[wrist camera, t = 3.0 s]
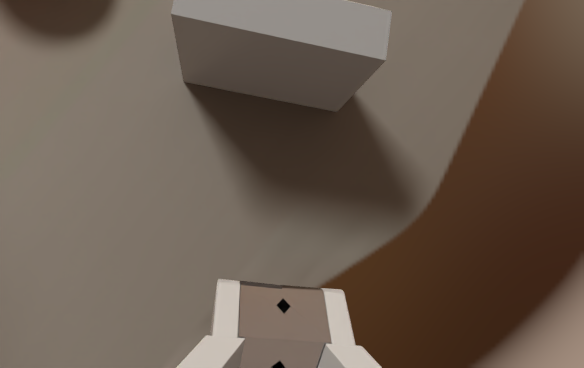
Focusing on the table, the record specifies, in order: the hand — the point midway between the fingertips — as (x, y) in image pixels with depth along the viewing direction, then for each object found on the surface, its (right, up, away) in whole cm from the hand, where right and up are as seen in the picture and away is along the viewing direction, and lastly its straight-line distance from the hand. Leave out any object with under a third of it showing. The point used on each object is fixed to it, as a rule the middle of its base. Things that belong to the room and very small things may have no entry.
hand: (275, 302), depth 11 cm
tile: (-1, +10, +19) cm, 22 cm away
